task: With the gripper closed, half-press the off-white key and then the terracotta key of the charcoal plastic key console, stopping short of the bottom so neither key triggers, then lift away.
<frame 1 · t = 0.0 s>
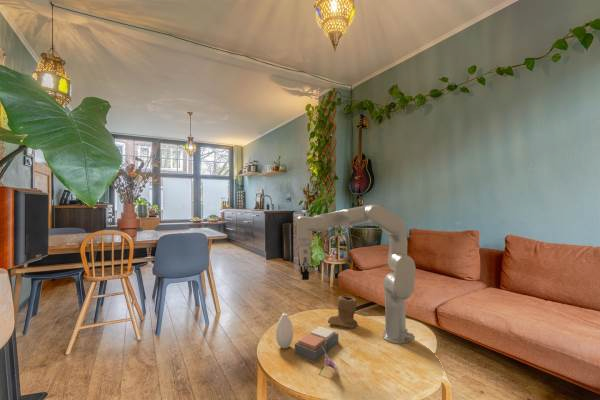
hand: (304, 276, 134), 31 cm above the table, tool pointing down, fingers open, 9 cm apart
key terracotta: (311, 342, 123), point 5 cm above the table, slide at 0.0 cm
lily: (329, 373, 109), on the table
brown boot: (343, 324, 152), on the table
key white: (322, 334, 131), point 5 cm above the table, slide at 0.0 cm
key console: (317, 348, 127), on the table
sauce bottle: (284, 347, 128), on the table
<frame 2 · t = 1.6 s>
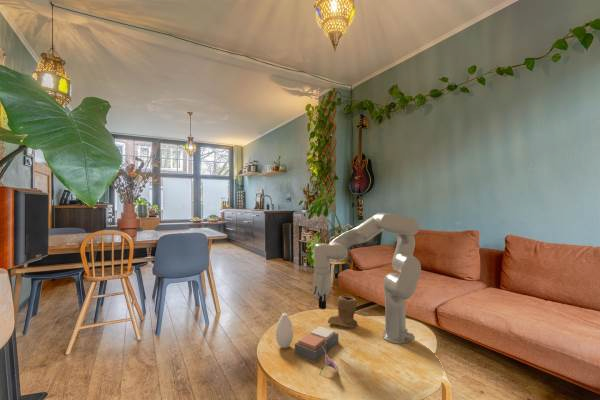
hand: (322, 308, 131), 17 cm above the table, tool pointing down, fingers closed
nothing on the table moved.
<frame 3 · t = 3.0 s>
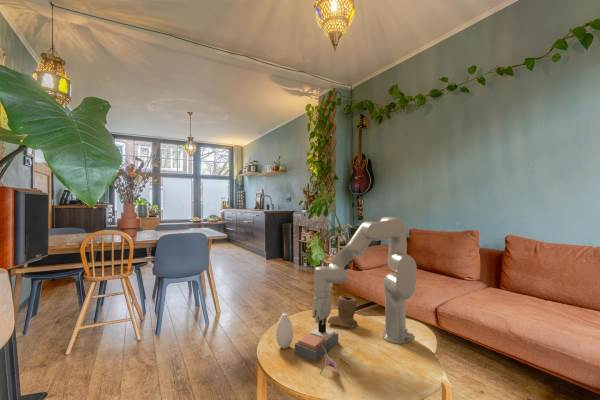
hand: (322, 331, 131), 6 cm above the table, tool pointing down, fingers closed
key white: (322, 334, 131), point 5 cm above the table, slide at 0.2 cm, touching gripper
everything else where it was.
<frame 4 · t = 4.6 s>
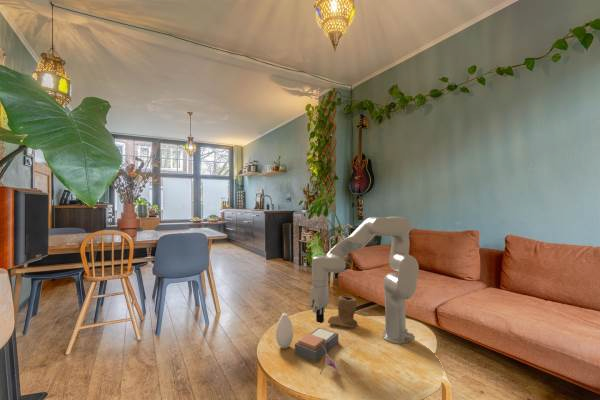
hand: (320, 321, 129), 11 cm above the table, tool pointing down, fingers closed
key white: (322, 336, 131), point 4 cm above the table, slide at 1.2 cm
everything else where it was.
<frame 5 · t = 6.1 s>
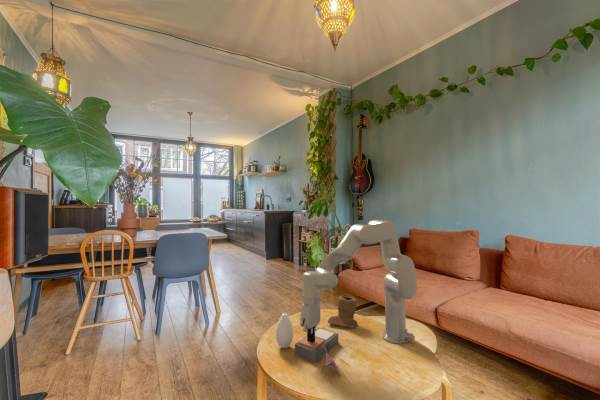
hand: (311, 341, 123), 5 cm above the table, tool pointing down, fingers closed
key terracotta: (311, 343, 123), point 4 cm above the table, slide at 0.6 cm, touching gripper
everything else where it was.
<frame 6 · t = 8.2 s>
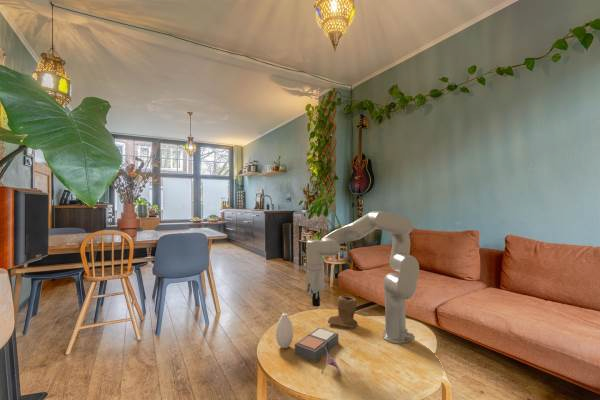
hand: (316, 305, 129), 19 cm above the table, tool pointing down, fingers closed
key terracotta: (311, 345, 123), point 4 cm above the table, slide at 1.1 cm
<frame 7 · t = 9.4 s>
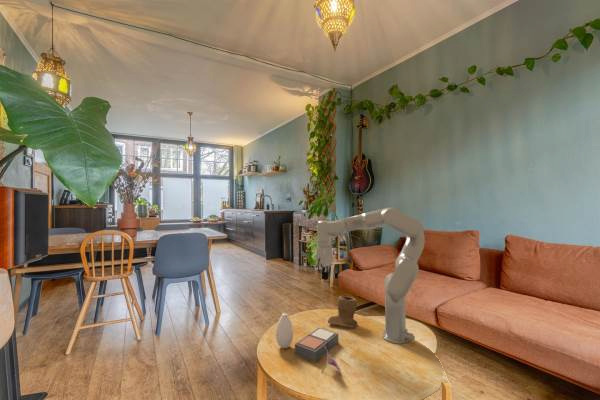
hand: (324, 279, 144), 27 cm above the table, tool pointing down, fingers closed
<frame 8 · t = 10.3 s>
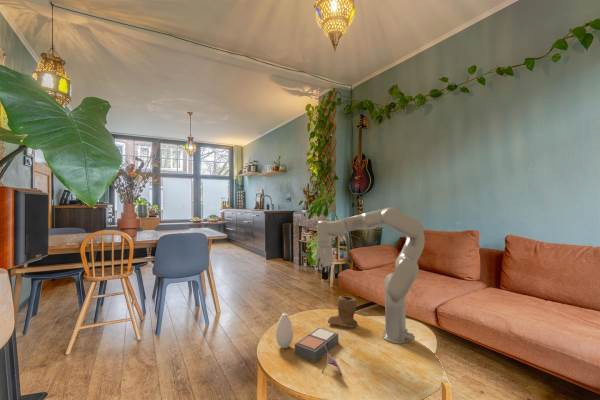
hand: (324, 279, 144), 27 cm above the table, tool pointing down, fingers closed
at the end: key white slide at 1.2 cm; key terracotta slide at 1.1 cm; sauce bottle moved 0.2 cm from its start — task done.
